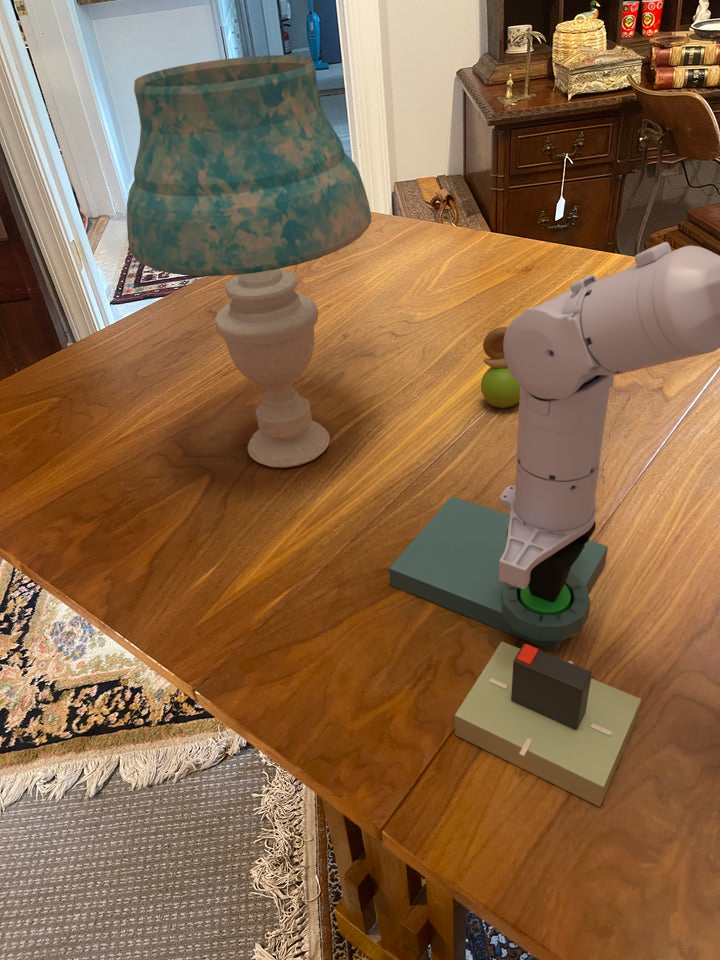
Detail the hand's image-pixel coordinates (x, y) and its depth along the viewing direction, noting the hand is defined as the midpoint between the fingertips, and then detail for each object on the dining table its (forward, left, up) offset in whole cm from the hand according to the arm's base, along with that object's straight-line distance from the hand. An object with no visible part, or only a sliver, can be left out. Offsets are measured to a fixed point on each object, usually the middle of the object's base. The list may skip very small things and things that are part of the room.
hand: (545, 593), depth 60 cm
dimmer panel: (-4, +9, -4) cm, 11 cm away
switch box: (+5, -3, -4) cm, 7 cm away
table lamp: (+37, -12, -4) cm, 39 cm away
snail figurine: (+18, -32, -4) cm, 37 cm away
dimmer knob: (-4, +9, -2) cm, 10 cm away
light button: (0, 0, -2) cm, 2 cm away
